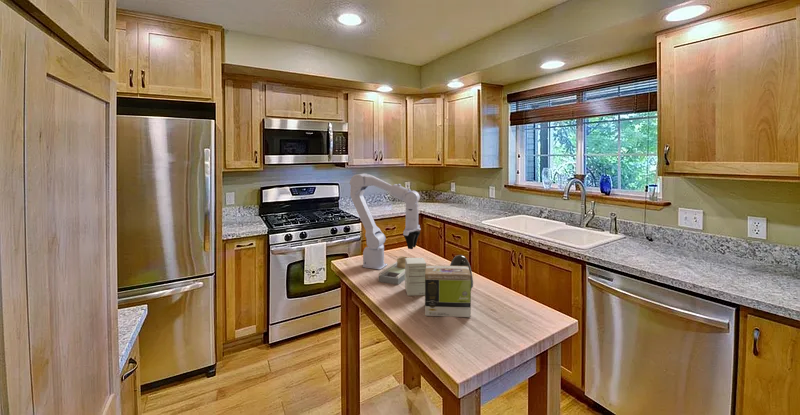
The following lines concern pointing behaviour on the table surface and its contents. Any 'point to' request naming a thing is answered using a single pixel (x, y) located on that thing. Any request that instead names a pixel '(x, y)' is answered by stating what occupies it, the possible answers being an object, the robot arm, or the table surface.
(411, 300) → the table surface
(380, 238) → the robot arm
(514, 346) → the table surface
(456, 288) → the tea box
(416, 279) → the supplement box
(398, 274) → the trap lane
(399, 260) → the maple block
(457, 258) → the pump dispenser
